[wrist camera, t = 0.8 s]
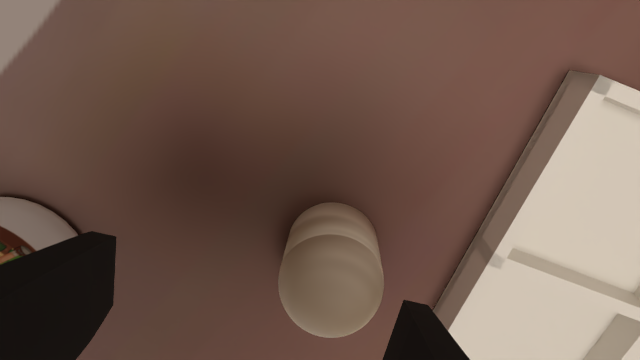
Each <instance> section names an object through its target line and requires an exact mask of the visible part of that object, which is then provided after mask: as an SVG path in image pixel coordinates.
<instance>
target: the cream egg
mask: <svg viewBox="0 0 640 360" xmlns="http://www.w3.org/2000/svg"><path fill="white" fill-rule="evenodd" d="M278 288H279V295H280V299H281V302H282V305H283V307H284V309H285V311H286V312H287V314H288V315H289V317H290V318H291V319H292V320H293V321H294V322H295V323H296V324H297V325H298V326H299V327H301V328H302V329H303V330H305V331H307V332H309V333H311V334H313V335H316V336H320V337H327V338H337V337H343V336H346V335H349V334H352V333H354V332H356V331H358V330H359V329H361V328H362V327H364V326H365V325H366V324H367V323H368V322H369V321H370V320H371V318H372V317H373V316H374V315H375V313H376V311H377V310H378V308H379V305H380V303H381V300H382V296H383V291H384V276H383V270H382V264H381V258H380V252H379V247H378V241H377V235H376V232H375V229H374V227H373V225H372V223H371V222H370V220H369V219H368V218H367V217H366V216H365V215H364V214H363V213H362V212H361V211H359V210H358V209H356V208H354V207H352V206H350V205H346V204H342V203H334V202H330V203H322V204H318V205H315V206H313V207H311V208H309V209H307V210H306V211H304V212H303V213H302V214H300V215H299V217H298V218H297V219H296V220H295V222H294V223H293V225H292V227H291V230H290V233H289V237H288V240H287V244H286V248H285V252H284V255H283V259H282V263H281V267H280V271H279V278H278Z"/></svg>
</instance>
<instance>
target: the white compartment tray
mask: <svg viewBox="0 0 640 360" xmlns="http://www.w3.org/2000/svg"><path fill="white" fill-rule="evenodd" d="M433 312H434V313H435V315H436V316H437V317H438V319H439V320H440V321H441V322H442V324H443V325H444V326H445V328H446V329H447V330H448V332H449V333H450V334H451V336H452V337H453V338H454V340H455V341H456V342H457V343H458V345H459V346H460V347H461V349H462V350H463V351H464V353H465V354H466V355H467V356H468V358H469V359H470V360H640V91H637V90H635V89H633V88H630V87H628V86H625V85H623V84H621V83H618V82H616V81H613V80H611V79H609V78H606V77H604V76H601V75H597V74H591V73H584V72H578V71H571V70H569V72H568V74H567V75H566V77H565V79H564V81H563V82H562V84H561V86H560V88H559V89H558V91H557V93H556V95H555V96H554V98H553V100H552V102H551V103H550V105H549V107H548V109H547V111H546V112H545V114H544V116H543V118H542V119H541V121H540V123H539V125H538V126H537V128H536V130H535V132H534V133H533V135H532V137H531V139H530V140H529V142H528V144H527V146H526V148H525V149H524V151H523V153H522V155H521V156H520V158H519V160H518V162H517V163H516V165H515V167H514V169H513V170H512V172H511V174H510V176H509V177H508V179H507V181H506V183H505V185H504V186H503V188H502V190H501V192H500V193H499V195H498V197H497V199H496V200H495V202H494V204H493V206H492V207H491V209H490V211H489V213H488V214H487V216H486V218H485V220H484V222H483V223H482V225H481V227H480V229H479V230H478V232H477V234H476V236H475V237H474V239H473V241H472V243H471V244H470V246H469V248H468V250H467V251H466V253H465V255H464V257H463V259H462V260H461V262H460V264H459V266H458V267H457V269H456V271H455V273H454V274H453V276H452V278H451V280H450V281H449V283H448V285H447V287H446V288H445V290H444V292H443V294H442V296H441V297H440V299H439V301H438V303H437V304H436V306H435V308H434V310H433Z"/></svg>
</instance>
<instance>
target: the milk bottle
mask: <svg viewBox="0 0 640 360" xmlns="http://www.w3.org/2000/svg"><path fill="white" fill-rule="evenodd" d="M75 236H78V234H77V233H76V231H75V230H74V229H73V228H72V227H71V226H70V225H69V224H68V223H67V222H66V221H65V220H63V219H62V218H61V217H59V216H58V215H57V214H55V213H54V212H53V211H51V210H49V209H47V208H45V207H43V206H41V205H40V204H37V203H33V202H30V201H28V200H25V199H18V198H13V197H0V265H1V264H3V263H6V262H9V261H11V260H14V259H17V258H19V257H22V256H25V255H27V254H30V253H33V252H35V251H38V250H41V249H43V248H46V247H48V246H51V245H54V244H56V243H59V242H62V241H64V240H67V239H70V238H72V237H75Z"/></svg>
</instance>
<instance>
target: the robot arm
mask: <svg viewBox="0 0 640 360" xmlns="http://www.w3.org/2000/svg"><path fill="white" fill-rule="evenodd" d="M115 253H116V237H115V236H111V235H106V234H102V233H97V232H93V231H91V232H88V233H84V234H81V235H78V236H75V237H72V238H70V239H67V240H64V241H62V242H59V243H56V244H54V245H51V246H48V247H46V248H43V249H41V250H38V251H35V252H33V253H30V254H27V255H25V256H22V257H19V258H17V259H14V260H11V261H9V262H6V263H3V264H1V265H0V360H76V359H77V357H78V356H79V355H80V354H81V352H82V351H83V350H84V349H85V347H86V346H87V345H88V344H89V342H90V341H91V339H92V338H93V336H94V335H95V333H96V332H97V330H98V329H99V327H100V325H101V324H102V322H103V321H104V319H105V317H106V316H107V314H108V312H109V311H110V309H111V307H112V306H113V295H114V274H115ZM383 360H470V359H469V358H468V356H467V355H466V354H465V353H464V351H463V350H462V349H461V347H460V346H459V345H458V343H457V342H456V341H455V340H454V338H453V337H452V336H451V334H450V333H449V332H448V330H447V329H446V328H445V326H444V325H443V324H442V322H441V321H440V320H439V319H438V317H437V316H436V315H435V313H434V312H433V311H432V310H431V308H430V307H429V306H428V305H425V304H420V303H416V302H411V301H407V300H404V301H403V303H402V306H401V309H400V312H399V315H398V318H397V320H396V323H395V326H394V329H393V332H392V335H391V337H390V340H389V343H388V346H387V349H386V352H385V354H384V357H383Z"/></svg>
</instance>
